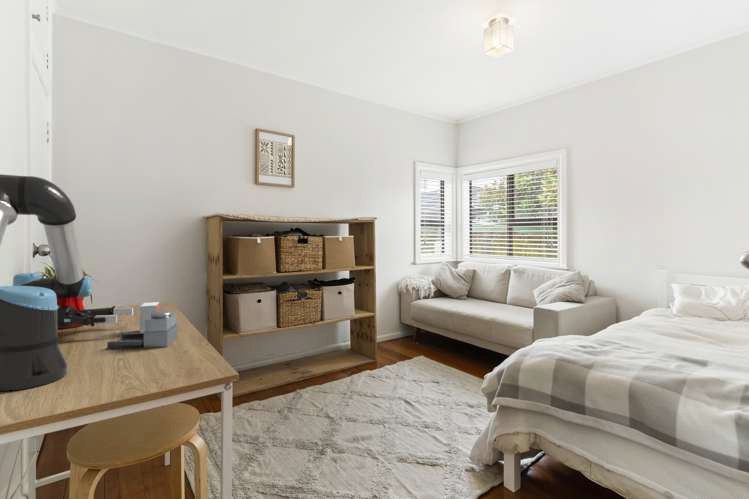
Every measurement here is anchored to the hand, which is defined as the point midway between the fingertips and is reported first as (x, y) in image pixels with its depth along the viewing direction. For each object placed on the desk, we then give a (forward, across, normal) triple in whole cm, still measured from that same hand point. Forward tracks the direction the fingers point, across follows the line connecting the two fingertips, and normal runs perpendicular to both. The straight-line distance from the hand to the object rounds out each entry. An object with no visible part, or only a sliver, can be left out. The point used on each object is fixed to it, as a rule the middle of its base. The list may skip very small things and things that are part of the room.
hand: (125, 315), depth 142 cm
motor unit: (+12, +16, -6) cm, 21 cm away
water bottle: (-25, -14, -7) cm, 30 cm away
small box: (+8, 0, -7) cm, 11 cm away
